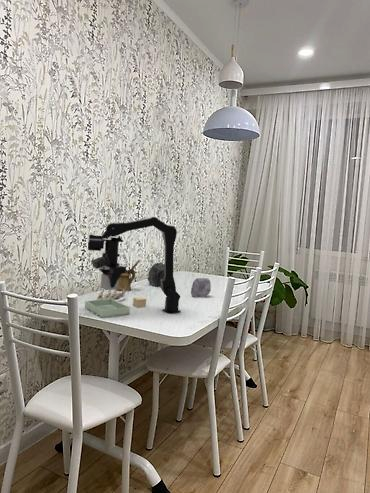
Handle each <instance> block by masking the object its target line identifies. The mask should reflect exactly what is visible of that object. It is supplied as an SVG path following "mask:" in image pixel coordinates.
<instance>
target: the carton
mask: <svg viewBox="0 0 370 493" xmlns="http://www.w3.org/2000/svg"><path fill="white" fill-rule="evenodd" d="M132 300H133V301H132V302H133V303H132V306H133V307H135V308H136V309H139V308H146V307H147V298H145V297H142V296H139V297H136V296H135V297H133V298H132Z"/></svg>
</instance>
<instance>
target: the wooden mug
mask: <svg viewBox="0 0 370 493" xmlns="http://www.w3.org/2000/svg"><path fill="white" fill-rule="evenodd" d="M139 263H140V259H138V260H137V261H136V262H135V263H134V265H133V266H132V267H131V268H130V269H126V273H123V274H121V276H120V277H119V279H118V289H117V290H116V292H122V290H123V289H124V287H125V290H126V292H129V291H131V289H132V286H131V285H132V282H133V280H135V277H136V271H135V268H136V267H137V266H138V264H139Z"/></svg>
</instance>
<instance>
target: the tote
mask: <svg viewBox="0 0 370 493" xmlns="http://www.w3.org/2000/svg"><path fill="white" fill-rule="evenodd" d="M86 308H87V309H86ZM84 309H86V310H88V311H89V310H90V312H91V311H92V312H91V313H93V312H94V313H95V314H94V313H93V314H94V315H96V314H97V315H96V316H98V315H99V316H100V318H101V317H102V318H101V319H104V317H106V318H113V317H112V316H114V317H121V316H127V315H128V316H129V315H130V311H131V308H130V306H128V305H126V304H123V303H121V302H119V301H117V300H113V299H102V300H97V299H93V300H85V301H84ZM99 316H98V317H99Z"/></svg>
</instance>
